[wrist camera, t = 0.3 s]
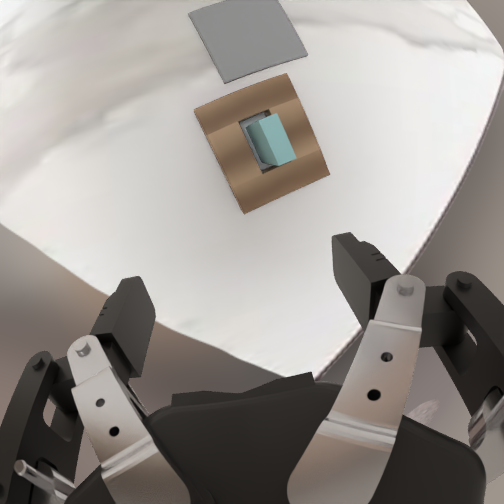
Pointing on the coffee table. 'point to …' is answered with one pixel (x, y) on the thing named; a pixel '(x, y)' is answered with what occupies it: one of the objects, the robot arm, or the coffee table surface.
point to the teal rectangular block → (271, 141)
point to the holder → (240, 154)
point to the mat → (247, 36)
